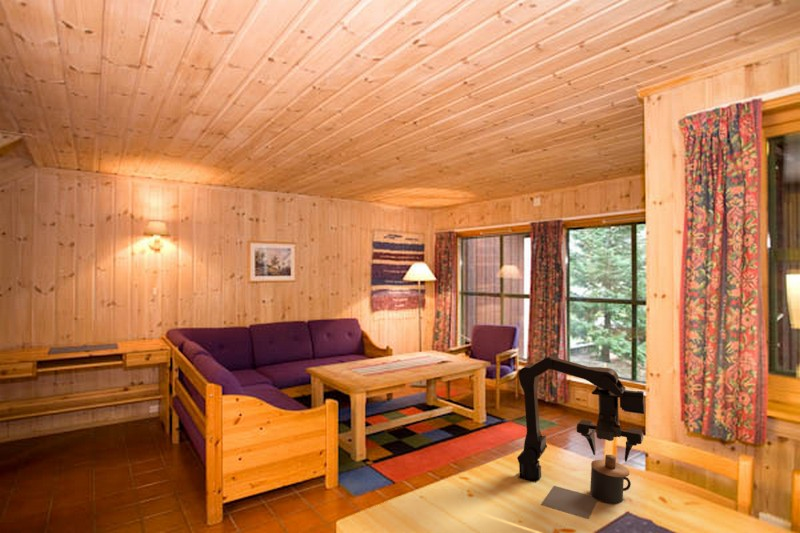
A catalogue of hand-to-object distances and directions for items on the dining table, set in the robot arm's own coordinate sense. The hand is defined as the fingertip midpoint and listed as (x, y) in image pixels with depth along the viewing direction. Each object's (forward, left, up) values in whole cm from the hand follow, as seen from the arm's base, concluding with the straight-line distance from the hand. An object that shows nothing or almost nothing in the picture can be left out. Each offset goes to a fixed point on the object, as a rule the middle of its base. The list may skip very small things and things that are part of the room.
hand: (609, 457), depth 140 cm
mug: (0, 0, -13) cm, 13 cm away
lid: (0, 0, -4) cm, 4 cm away
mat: (-10, -10, -13) cm, 19 cm away
